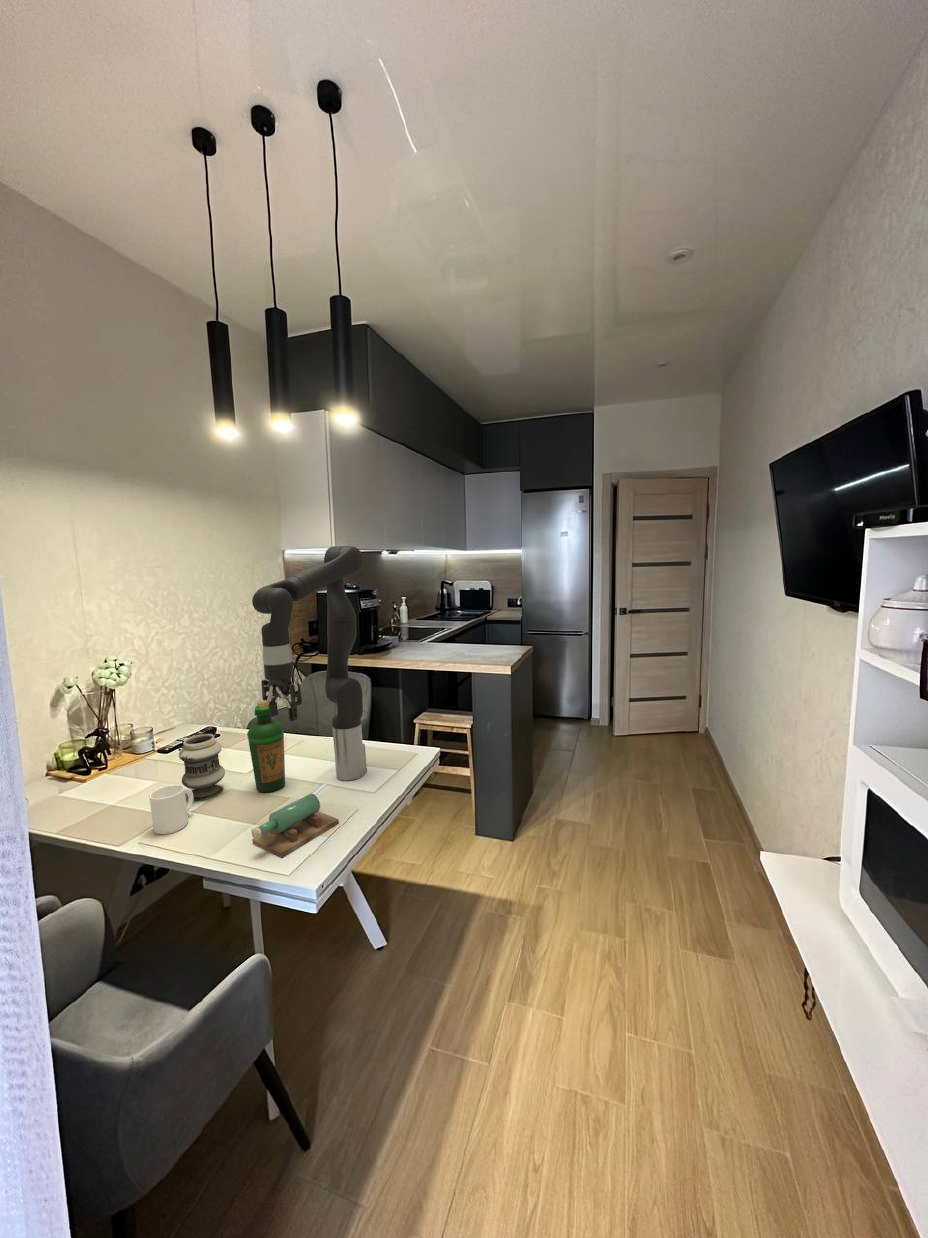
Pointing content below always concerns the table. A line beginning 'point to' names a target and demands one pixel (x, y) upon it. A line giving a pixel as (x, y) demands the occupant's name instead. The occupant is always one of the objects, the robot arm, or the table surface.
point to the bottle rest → (296, 834)
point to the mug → (170, 808)
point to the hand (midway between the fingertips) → (283, 718)
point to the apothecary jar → (202, 766)
